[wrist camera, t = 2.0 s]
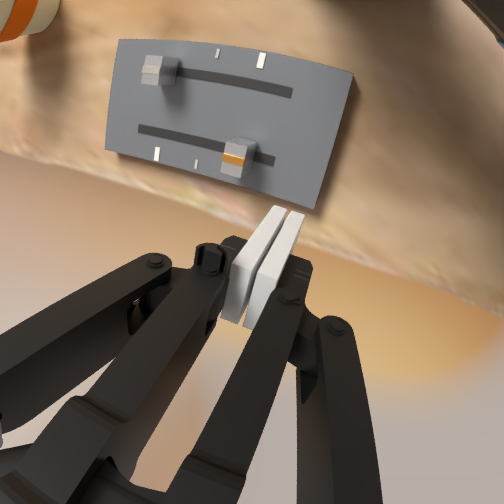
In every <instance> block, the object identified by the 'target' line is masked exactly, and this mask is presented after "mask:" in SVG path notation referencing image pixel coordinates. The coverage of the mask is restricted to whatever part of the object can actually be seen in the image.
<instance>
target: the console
mask: <svg viewBox="0 0 504 504" xmlns="http://www.w3.org/2000/svg"><path fill="white" fill-rule="evenodd" d="M146 55H155V56H167V57H174V58H179V63H178V68H177V73H176V79H175V84H174V85H149V84H141V81H142V75H143V73H142V68H143V66H144V63H145V58H146ZM353 74H354V73H351V72H347V71H344V70H341V69H337V68H334V67H330V66H327V65H323V64H319V63H315V62H312V61H308V60H303V59H299V58H295V57H290V56H286V55H281V54H276V53H271V52H266V51H260V50H255V49H249V48H242V47H236V46H228V45H221V44H212V43H202V42H191V41H177V40H155V39H119V42H118V47H117V52H116V58H115V64H114V70H113V77H112V84H111V91H110V99H109V107H108V117H107V127H106V140H105V150H109V151H113V152H117V153H121V154H125V155H130V156H134V157H138V158H142V159H145V160H149V161H153V162H157V163H161V164H165V165H168V166H172V167H176V168H179V169H183V170H187V171H190V172H194V173H198V174H201V175H205V176H208V177H212V178H215V179H218V180H222V181H225V182H229V183H232V184H235V185H239V186H242V187H245V188H248V189H252V190H255V191H258V192H261V193H265V194H268V195H271V196H274V197H277V198H280V199H283V200H286V201H289V202H292V203H296V204H299V205H302V206H305V207H308V208H310V209H313V210H314V207H315V204H316V201H317V198H318V195H319V191H320V188H321V185H322V182H323V179H324V175H325V172H326V169H327V165H328V162H329V159H330V156H331V152H332V149H333V145H334V142H335V139H336V135H337V132H338V128H339V125H340V121H341V118H342V114H343V111H344V107H345V104H346V100H347V97H348V93H349V89H350V86H351V82H352V78H353ZM237 137H240V138H244V139H248V140H252V141H255V142H257V146H256V150H255V154H254V159H253V163H252V168H251V171H250V172H248V173H247V174H246V175H244V176H243V177H241V178H238V177H234V176H231V175H227V174H224V173H220V170H221V165H222V156H223V153H224V149H225V144H226V141H228V140H231V139H234V138H237Z"/></svg>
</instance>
